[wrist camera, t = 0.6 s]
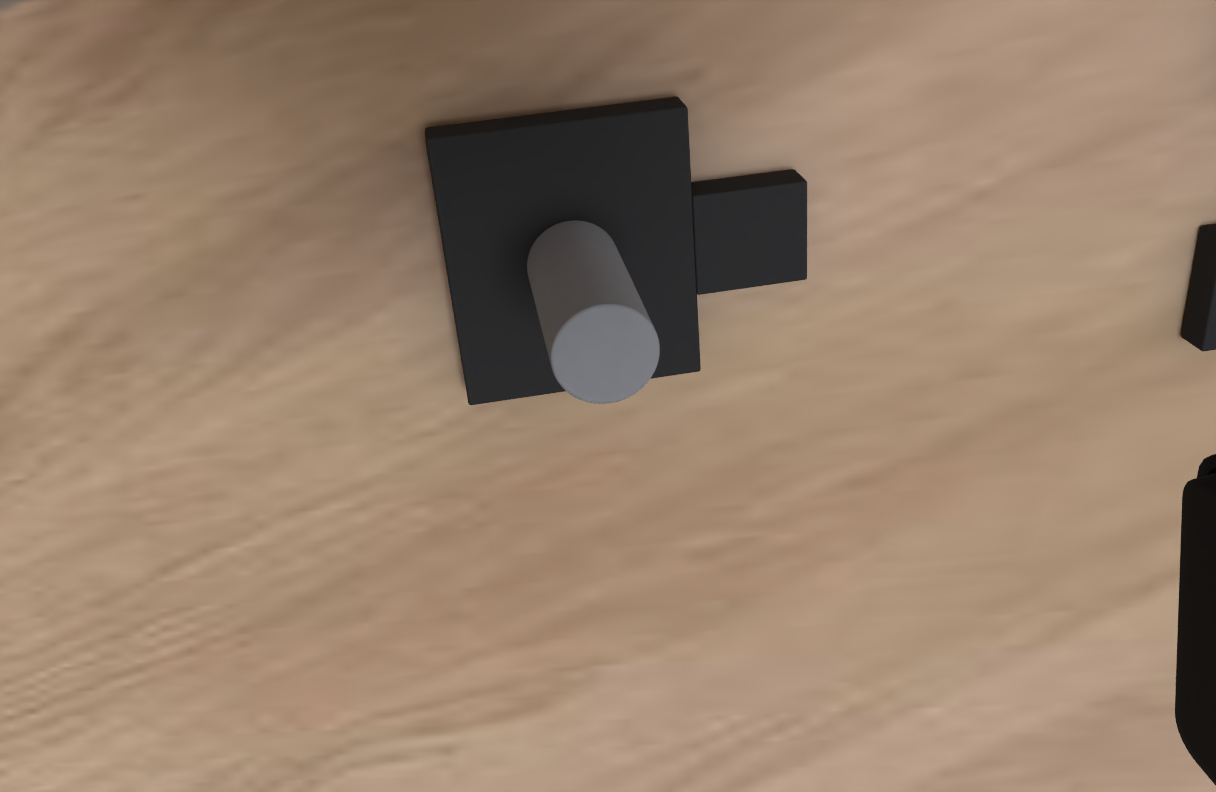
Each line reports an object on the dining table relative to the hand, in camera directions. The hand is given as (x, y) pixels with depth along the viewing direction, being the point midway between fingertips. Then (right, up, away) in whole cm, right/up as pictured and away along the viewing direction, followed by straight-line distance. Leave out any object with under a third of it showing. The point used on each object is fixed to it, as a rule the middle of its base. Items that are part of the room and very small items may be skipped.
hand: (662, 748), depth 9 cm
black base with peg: (0, +7, +23) cm, 25 cm away
